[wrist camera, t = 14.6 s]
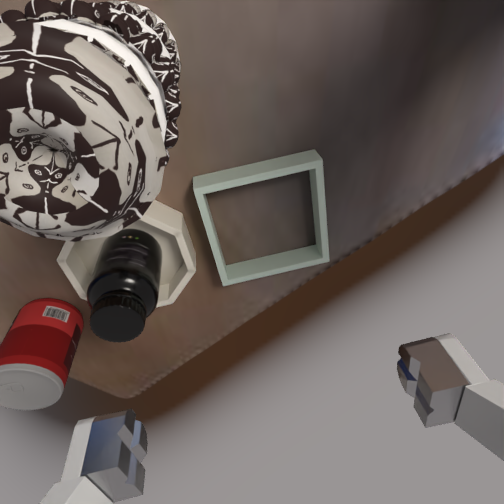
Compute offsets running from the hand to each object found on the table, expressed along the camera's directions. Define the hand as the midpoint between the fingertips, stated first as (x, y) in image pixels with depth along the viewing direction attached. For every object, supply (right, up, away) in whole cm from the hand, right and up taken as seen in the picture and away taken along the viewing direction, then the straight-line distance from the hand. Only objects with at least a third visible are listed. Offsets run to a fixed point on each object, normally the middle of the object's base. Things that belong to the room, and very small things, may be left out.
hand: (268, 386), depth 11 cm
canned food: (-27, -5, +37) cm, 46 cm away
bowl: (-15, +5, +33) cm, 36 cm away
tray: (+1, +8, +33) cm, 34 cm away
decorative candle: (-11, +21, +22) cm, 32 cm away
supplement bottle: (-14, +4, +32) cm, 35 cm away
